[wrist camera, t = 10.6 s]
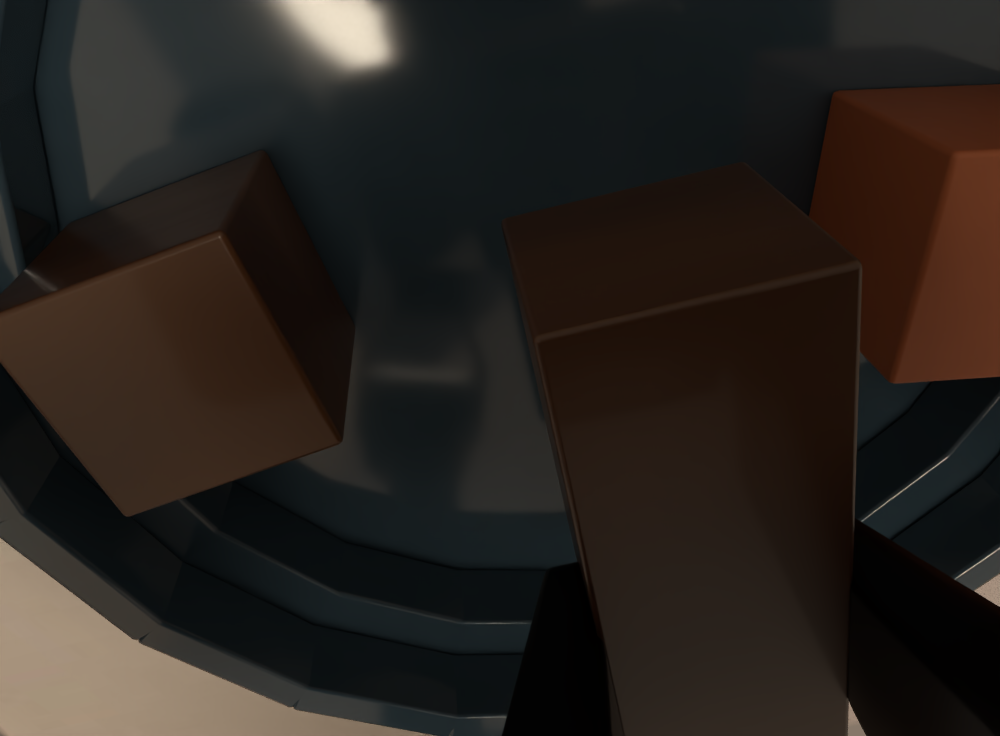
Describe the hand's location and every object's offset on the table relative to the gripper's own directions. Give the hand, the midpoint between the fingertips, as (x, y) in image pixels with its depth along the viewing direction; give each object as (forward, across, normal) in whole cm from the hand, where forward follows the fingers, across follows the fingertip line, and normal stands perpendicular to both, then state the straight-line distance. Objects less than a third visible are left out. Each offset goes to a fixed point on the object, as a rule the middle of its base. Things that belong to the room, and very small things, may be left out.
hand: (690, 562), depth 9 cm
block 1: (+5, +5, -3) cm, 8 cm away
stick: (+1, 0, 0) cm, 1 cm away
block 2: (+5, -5, -2) cm, 7 cm away
